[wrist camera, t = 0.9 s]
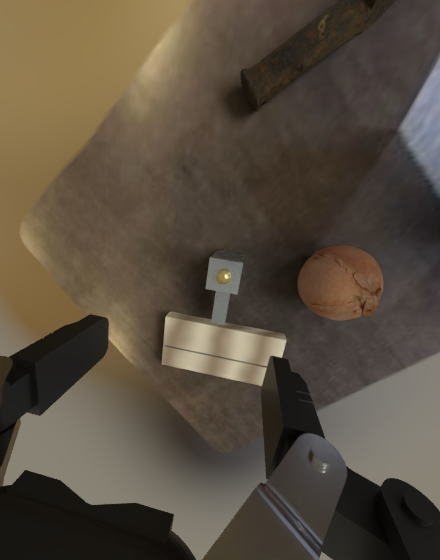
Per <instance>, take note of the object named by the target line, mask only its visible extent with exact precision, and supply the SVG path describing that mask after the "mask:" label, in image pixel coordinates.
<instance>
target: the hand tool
mask: <svg viewBox="0 0 440 560" xmlns="http://www.w3.org/2000/svg"><path fill="white" fill-rule="evenodd" d="M395 1H396V0H340V1H339V2H338V3H337V4H335V5H334V6H332V7H330V8H329V9H328V10H326V11H325V12H324V13H323V14H321V15H320V16H319V17H317V18H316V19H314V20H313V21H312V22H310V23H309V24H308V25H306V26H305V27H304V28H302V29H301V30H300V31H298V32H297V33H296V34H295V35H293V36H292V37H291V38H290V39H288V40H287V41H286V42H284V43H283V44H282V45H281V46H279V47H278V48H276V49H275V50H274V51H273V52H272V53H270V54H269V55H268V56H267V57H265V58H264V59H263V60H262V61H260V62H259V63H258V64H256V65H255V66H253V67H252V68H250V69H242V70H241V84H242V87H243V90H244V92H245V95H246V97H247V100H248V102H249V104H250V105H251V107H252V108H253V110H254V111H255V112H256V111H257V110H258V109H259V107H260V105H261V104H262V103H266V102H267V101H269V100H270V98H271V96H272V95H274V94H275V93H277V92H278V91H280V90H281V89H283V88H285V87H286V86H287V85H288V84H290V83H292V82H293V81H294V80H295V79H296V78H297V77H298V76H299V75H301V74H302V73H303V72H305V71H308V70H309V69H310V68H311V67H312V66H313V65H315V64H316V63H317V62H319V61H320V60H321V59H323V58H324V57H325V56H327V55H328V54H329V53H331V52H332V51H333V50H335V49H336V48H338V47H339V46H340V45H342V44H343V43H344V42H346V41H347V40H349V39H350V38H351V37H353V36H354V35H355V34H361V33H362V32H363V31H365V30H366V29H367V28H368V27H369V26H371V25H372V24H373V23H374V22H375V21H376V20H377V19H378V18H380V17H381V16H382V14H383V13H384V12H385V11H386V10H387V9H388V8H389V7H390V6H391V5H392V4H393V3H394V2H395Z"/></svg>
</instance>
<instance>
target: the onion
mask: <svg viewBox="0 0 440 560" xmlns="http://www.w3.org/2000/svg"><path fill="white" fill-rule="evenodd" d="M298 290H299V295H300V298H302V299H303V302H304V303H305V305H306V306H307V307H308V308H309V309H310V310H311V311H313V312H314V313H316V314H318V315H320V316H322V317H324V318H328V319H332V320H349V319H354V318H357V317H359V316H361V315H363V314H364V316H366V317H368V316H369V315H371V314H372V312H373V311H374V310H375V311H376V309H375V308H377V307H378V306H377V304H378V303H379V299H380V297H381V295H382V291H383V276H382V272H381V269H380V267H379V265H378V263H377V262H376V260H375V259H374V258H373V257H372V256H371V255H369V254H368V253H367V252H365V251H363V250H361V249H359V248H357V247H353V246H348V245H336V246H328V247H326V248H323V249H320V250H318V251H316V252H313V255H312V256H311V257H310V258H309V259H308V260H307V261H306V262H305V263H304V265H303V267H302V269H301V271H300V274H299V277H298Z"/></svg>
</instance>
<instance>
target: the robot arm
mask: <svg viewBox="0 0 440 560" xmlns="http://www.w3.org/2000/svg"><path fill="white" fill-rule="evenodd" d="M108 327H109V322H108V319H107V318H105V317H101V316H96V315H88V316H87V317H85V318H83V319H81V320H80V321H78V322H75V323H72V324H69V325H65V326H63V327H61V328H59V329H58V330H56V331H54V332H53V333H51V334H49V335H47V336H45V337H44V339H43V338H42V339H40V340H38V341H36V342H35V343H33V344H31V345H29V346H28V347H26V348H24V349H22V350H20V351H19V352H17V353H15V354H13V355H12V356H10V357H6V356H0V560H196V559H195V557H194V555H193V554H192V552H191V551H190V549H189V548H188V546H187V545H186V544H185V543H184V542H183V541H182V540H181V539H180V537H179V536H178V535H176V534H175V533H174V532H173V531H171V529H172V523H173V516H174V514H171V513H168V512H164V511H161V510H157V509H154V508H151V507H148V506H144V505H141V504H138V503H127V504H126V503H125V504H105V505H90V504H88V503H86V502H85V501H84V500H83V499H82V498H80V497H79V496H78V495H77V494H76V493H74V492H73V491H72V490H71V489H70V488H69V487H67V486H66V485H65V484H64V483H63V482H62V481H60V480H57V479H54V478H51V477H47V476H44V475H41V474H37V473H34V472H30V471H27V470H25V471H24V472H23V473H22V474H21V476H20V477H19V478H18V479H17V480H16V481H15V482H14V483H13V484H12V485H7V486H3V481H4V476H5V473H6V469H7V466H8V463H9V460H10V456H11V453H12V450H13V447H14V444H15V440H16V437H17V434H18V431H19V427H20V423H21V421H20V417H21V416H23V415H24V414H25V413H26V412H28V413H32V414H35V415H39V416H40V415H41V414H43V413H44V412H45V411H46V410H47V409H48V408H49V407H50V406H51V405H52V404H53V403H54V402H56V401H57V400H58V399H59V398H60V397H61V396H62V395H63V394H64V393H65V392H66V391H67V390H68V389H69V388H71V387H72V386H73V385H74V384H75V383H76V382H77V381H78V380H79V379H80V378H81V377H83V375H85V374H86V373H87V372H88V371H89V370H90V369H91V368H92V367H93V366H94V365H95V364H96V363H97V362H98V361H100V359H102V358H103V357H104V355H105V353H106V351H107V348H108ZM309 394H310V393H309V390H308V387H307V384H306V382H305V381H304V380H303V379H302V377H301V376H300V375H299V374H298V373H294V372H291V369H290V365H289V361H288V359H285V358H280V357H276V356H270V358H269V361H268V365H267V369H266V372H265V376H264V380H263V384H262V390H261V403H262V419H263V435H264V451H265V467H266V479H268V481H267V482H266V483H265V484H263V483H260V484H259V485H258V486H257V487H256V488H255V489H254V490H253V492H252V493H251V494H250V496H249V497H248V498H247V500H246V501H245V503H244V504H243V505H242V507H241V508H240V509H239V511H238V512H237V513H236V515H235V516H234V517H233V519H232V520H231V521H230V523H229V524H228V525H227V527H226V528H225V529H224V531H223V532H222V533H221V535H220V536H219V537H218V539H217V540H216V541H215V543H214V544H213V546H212V547H211V548H210V550H209V551H208V552H207V554H206V555H205V556H204V558H203V559H202V560H319V558H320V555H321V551H322V552H323V553H325V554H326V555H327V556H329V557H330V558H331V559H333V560H440V512H439V510H438V509H437V508H436V506H435V505H434V504H433V503H432V502H431V501H430V500H429V499H428V498H427V497H426V496H425V495H423V494H422V493H421V492H420V491H418V490H417V489H416V488H414V487H413V486H411V485H410V484H408V483H406V482H404V481H401V480H399V479H395V478H389V479H386V480H385V481H384V482H383V484H382V486H381V487H380V486H378V485H377V484H375V483H373V482H371V481H370V480H368V479H366V478H364V477H362V476H361V475H359V474H357V473H355V472H354V471H352V470H351V469H349V468H348V467H347V466H346V464H345V462H344V460H343V458H342V457H341V455H340V453H339V452H338V451H337V450H336V448H335V447H334V446H333V445H332V444H331V443H329V442H328V441H327V440H326V439H325V436H324V433H323V430H322V428H321V425H320V422H319V419H318V416H317V413H316V410H315V407H314V405H313V404H312V399H311V396H310V395H309Z"/></svg>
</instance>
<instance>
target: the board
mask: <svg viewBox="0 0 440 560" xmlns="http://www.w3.org/2000/svg"><path fill="white" fill-rule="evenodd" d="M211 320H212V319H207V318H202V317H196V316H191V315H186V314H181V313H176V312H171V311H170V312H169V313H168V314H167V315H166V318H165V330H164V342H163V354H162V364H164V365H168V366H173V367H177V368H182V369H187V370H191V371H196V372H200V373H205V374H210V375H214V376H219V377H223V378H228V379H233V380H237V381H242V382H246V383H251V384H256V385H260V386H262V384H263V380H264V376H265V372H266V369H267V365H268V361H269V358H270V356H276V357H280V358H282V355H283V351H284V348H285V344H286V337H285V334H284V333H279V332H273V331H268V330H263V329H258V328H253V327H248V326H243V325H238V324H232V323H227V322H225V325H222V324H217V323H212V322H211Z"/></svg>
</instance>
